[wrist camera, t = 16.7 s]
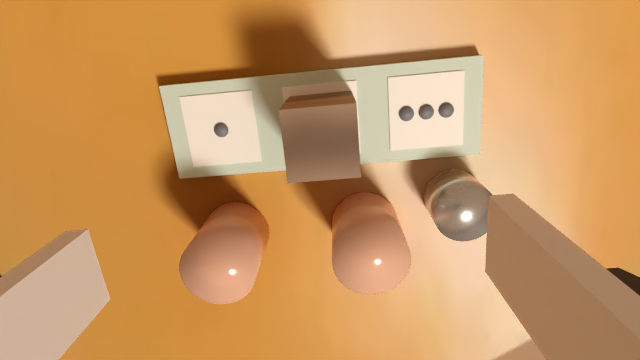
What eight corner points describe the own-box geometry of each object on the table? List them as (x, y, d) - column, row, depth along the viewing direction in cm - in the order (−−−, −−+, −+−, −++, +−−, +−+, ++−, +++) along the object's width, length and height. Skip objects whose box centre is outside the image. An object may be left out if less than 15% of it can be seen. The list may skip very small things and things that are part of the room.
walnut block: (289, 96, 32) (278, 109, 25) (351, 90, 32) (356, 103, 25) (296, 155, 33) (287, 183, 27) (355, 150, 33) (361, 177, 27)
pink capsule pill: (334, 252, 38) (335, 297, 31) (329, 194, 36) (328, 228, 29) (397, 248, 37) (411, 292, 31) (395, 189, 36) (410, 223, 29)
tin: (424, 222, 37) (434, 243, 33) (423, 171, 35) (434, 187, 31) (479, 218, 36) (496, 238, 32) (480, 166, 35) (498, 181, 31)
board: (183, 175, 36) (178, 179, 35) (164, 85, 33) (158, 86, 32) (476, 151, 34) (481, 155, 33) (479, 54, 32) (485, 55, 30)
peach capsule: (212, 261, 39) (187, 306, 32) (200, 204, 37) (171, 240, 30) (273, 257, 38) (260, 301, 32) (264, 199, 36) (249, 234, 30)
